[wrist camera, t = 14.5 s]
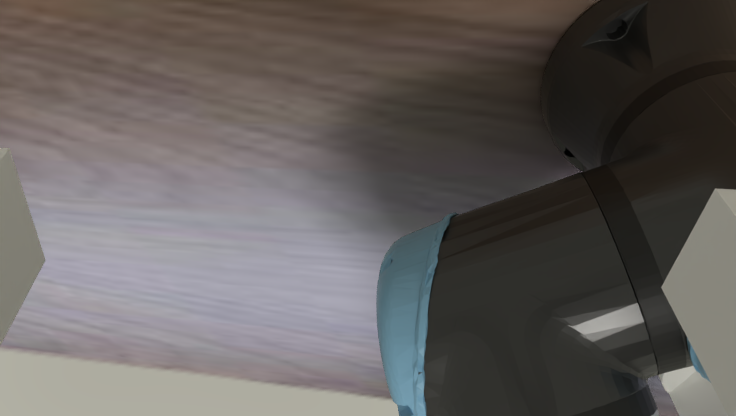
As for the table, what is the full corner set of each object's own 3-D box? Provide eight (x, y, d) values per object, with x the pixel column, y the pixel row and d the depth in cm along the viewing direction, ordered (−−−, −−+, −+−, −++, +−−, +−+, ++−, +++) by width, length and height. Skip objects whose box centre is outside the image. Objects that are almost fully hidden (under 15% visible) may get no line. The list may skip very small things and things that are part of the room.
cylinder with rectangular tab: (690, 358, 67) (744, 465, 58) (620, 338, 65) (666, 446, 56) (752, 304, 62) (823, 413, 53) (680, 281, 60) (741, 390, 50)
